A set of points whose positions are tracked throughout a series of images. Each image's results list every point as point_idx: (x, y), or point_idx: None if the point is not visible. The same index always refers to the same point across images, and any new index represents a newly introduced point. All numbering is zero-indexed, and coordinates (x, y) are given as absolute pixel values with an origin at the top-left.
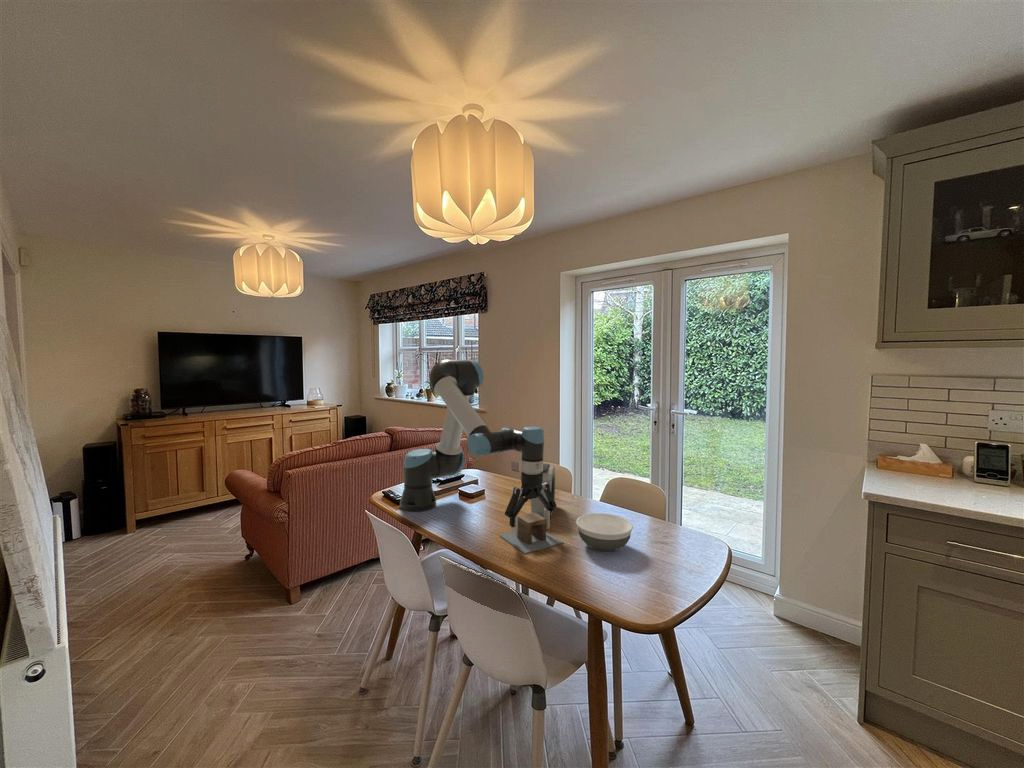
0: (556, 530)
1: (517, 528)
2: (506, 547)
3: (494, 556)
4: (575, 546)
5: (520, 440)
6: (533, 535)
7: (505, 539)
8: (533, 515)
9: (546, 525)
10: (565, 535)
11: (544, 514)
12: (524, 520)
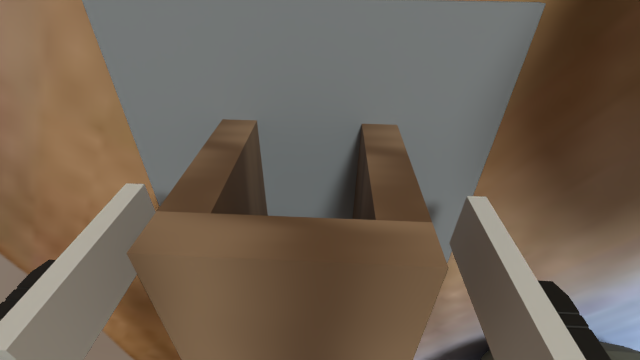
0: (588, 156)
1: (128, 286)
2: (110, 185)
3: (24, 229)
4: (448, 321)
5: None
6: (356, 157)
7: (121, 98)
8: (350, 317)
9: (462, 248)
10: (540, 236)
11: (517, 312)
12: (178, 347)
